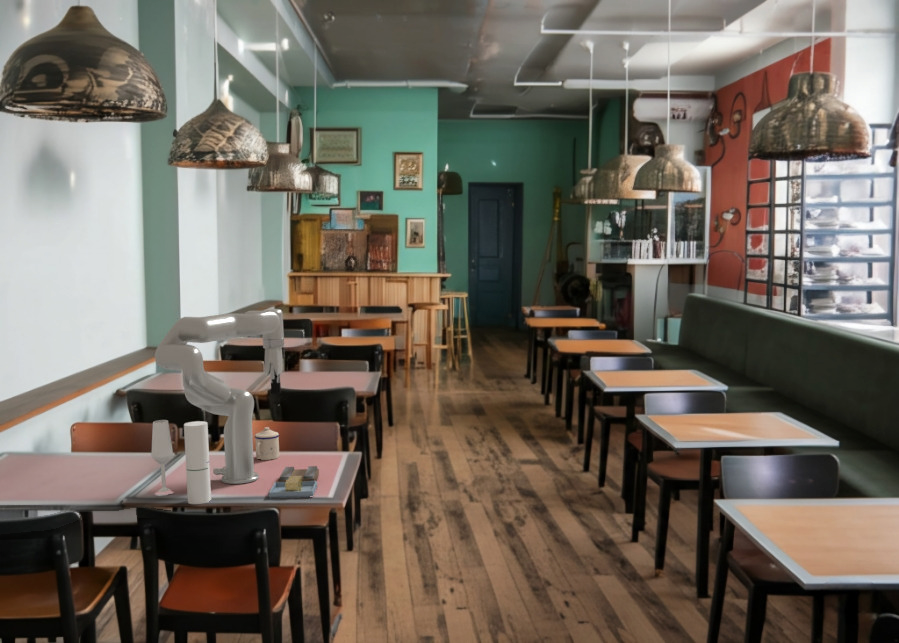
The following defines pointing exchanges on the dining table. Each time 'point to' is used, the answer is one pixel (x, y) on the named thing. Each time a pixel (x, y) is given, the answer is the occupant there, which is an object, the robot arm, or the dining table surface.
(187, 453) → the cylindrical container
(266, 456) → the teacup with lid
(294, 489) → the tan wooden cube
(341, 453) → the dining table surface
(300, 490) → the light brown cube
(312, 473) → the slot bed
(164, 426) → the champagne flute
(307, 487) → the tray
